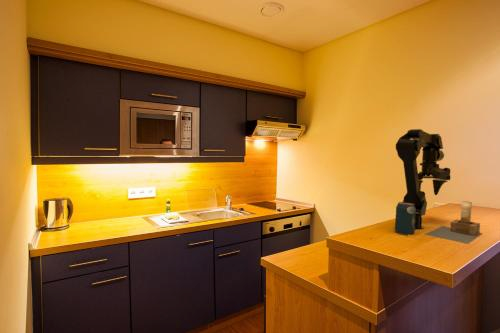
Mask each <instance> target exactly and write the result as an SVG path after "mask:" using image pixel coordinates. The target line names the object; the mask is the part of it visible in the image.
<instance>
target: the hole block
mask: <svg viewBox="0 0 500 333" xmlns="http://www.w3.org/2000/svg"><path fill="white" fill-rule="evenodd" d="M460 222H461V219H458V218H456V219H454V220H452V221H451V222H450V227H451V229H450V232H455V233H460V234H465V235H470V236H476V235H477V234H479V233H481V232H480V230H481V223H479V222H475V221H470V224H465V223H460Z"/></svg>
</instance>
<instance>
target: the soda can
mask: <svg viewBox="0 0 500 333" xmlns="http://www.w3.org/2000/svg"><path fill="white" fill-rule="evenodd" d="M415 216H416V208H415V206H414V204H413V203H407V202H403V201H399V202H397V205H396V206H395V218H394V220H395V221H394V222H395V223H394V230H395V232H396V233H397V234H399V235H403V236H409V235H413V234H414V233H415V231H416V229H415Z"/></svg>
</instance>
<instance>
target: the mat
mask: <svg viewBox="0 0 500 333" xmlns="http://www.w3.org/2000/svg"><path fill="white" fill-rule="evenodd" d="M450 229H451V226H445V225H442V226H440V227H439V226H438V227H437V228H434V229H433V230H431V231H428V232H426V233H425V234H424V235H425V236H429V237H434V238H439V239H442V240H443V239H444V240H446V241H447V240H448V241H452V242H458V243H461V244H467V245H469V244H471V242H473V241H474V240H476V239H477V238H479V237H480V236H481V235H483V233H481V232H480V233H479V234H477V235H476V236H470V235H465V234H460V233H455V232H450Z"/></svg>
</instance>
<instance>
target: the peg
mask: <svg viewBox="0 0 500 333" xmlns="http://www.w3.org/2000/svg"><path fill="white" fill-rule="evenodd" d="M472 204H473V202H472V201H464V200H462V201H461V211H460V212H461V213H460V220H461V222H460V223H465V224H470V222H472V221H471V220H472V207H473V205H472Z"/></svg>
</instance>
